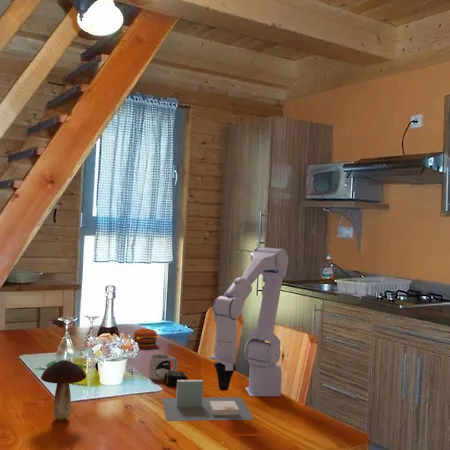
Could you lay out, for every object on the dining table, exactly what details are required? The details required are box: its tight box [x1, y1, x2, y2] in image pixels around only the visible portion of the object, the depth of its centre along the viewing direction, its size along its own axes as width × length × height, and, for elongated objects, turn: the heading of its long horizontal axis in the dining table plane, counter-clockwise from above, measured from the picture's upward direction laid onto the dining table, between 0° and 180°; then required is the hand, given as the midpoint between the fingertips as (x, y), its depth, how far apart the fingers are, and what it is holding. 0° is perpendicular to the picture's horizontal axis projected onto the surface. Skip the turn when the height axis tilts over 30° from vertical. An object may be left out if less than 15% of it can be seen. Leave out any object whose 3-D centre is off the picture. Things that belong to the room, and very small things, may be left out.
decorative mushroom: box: [40, 359, 87, 421], centre depth 145 cm, size 11×11×15 cm
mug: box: [149, 353, 178, 381], centre depth 187 cm, size 10×7×7 cm
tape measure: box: [163, 370, 189, 387], centre depth 179 cm, size 7×7×4 cm
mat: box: [161, 396, 255, 422], centre depth 157 cm, size 23×18×1 cm
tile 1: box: [209, 401, 239, 416], centre depth 156 cm, size 7×2×7 cm
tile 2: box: [175, 379, 204, 407], centre depth 158 cm, size 7×2×7 cm, turn 100°
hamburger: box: [131, 327, 160, 349], centre depth 228 cm, size 9×10×7 cm
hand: (223, 389), depth 157 cm, fingers closed
